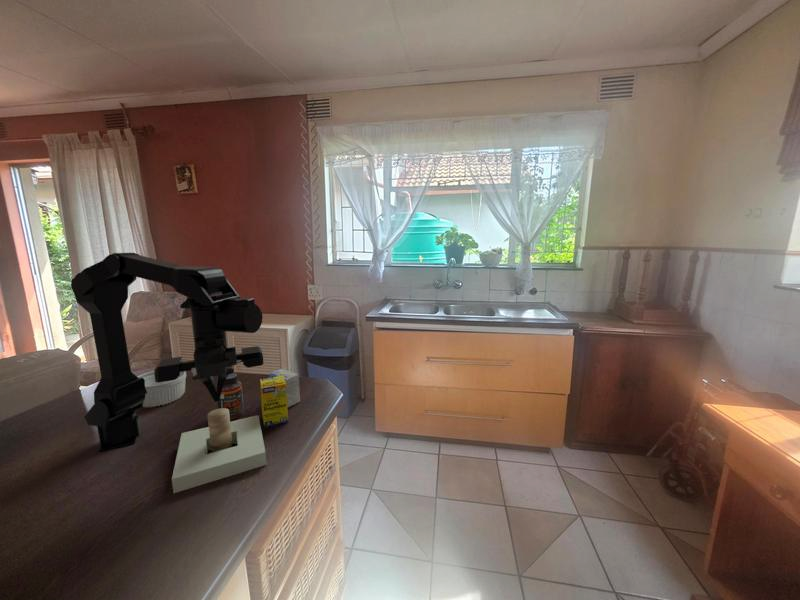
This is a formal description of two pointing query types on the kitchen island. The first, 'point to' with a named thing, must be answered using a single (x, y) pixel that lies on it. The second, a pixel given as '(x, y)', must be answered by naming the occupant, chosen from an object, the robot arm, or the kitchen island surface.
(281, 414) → the supplement box
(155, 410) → the kitchen island surface
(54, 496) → the kitchen island surface
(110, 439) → the robot arm
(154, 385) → the ramekin
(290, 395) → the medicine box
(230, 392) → the supplement bottle
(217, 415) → the wooden peg
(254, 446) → the socket plate
